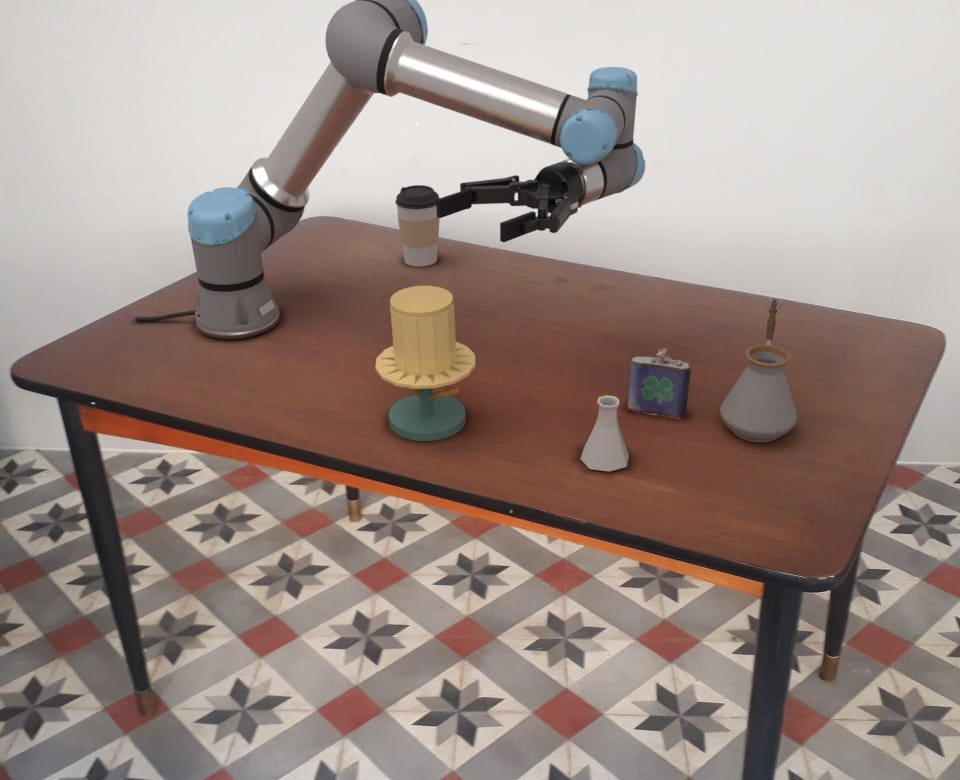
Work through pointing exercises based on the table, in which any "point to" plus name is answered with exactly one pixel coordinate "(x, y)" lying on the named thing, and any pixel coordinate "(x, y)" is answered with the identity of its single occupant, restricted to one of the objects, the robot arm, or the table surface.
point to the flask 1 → (606, 439)
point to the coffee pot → (761, 393)
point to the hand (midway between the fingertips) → (468, 220)
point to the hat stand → (427, 415)
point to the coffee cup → (418, 224)
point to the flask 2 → (659, 386)
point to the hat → (424, 341)
